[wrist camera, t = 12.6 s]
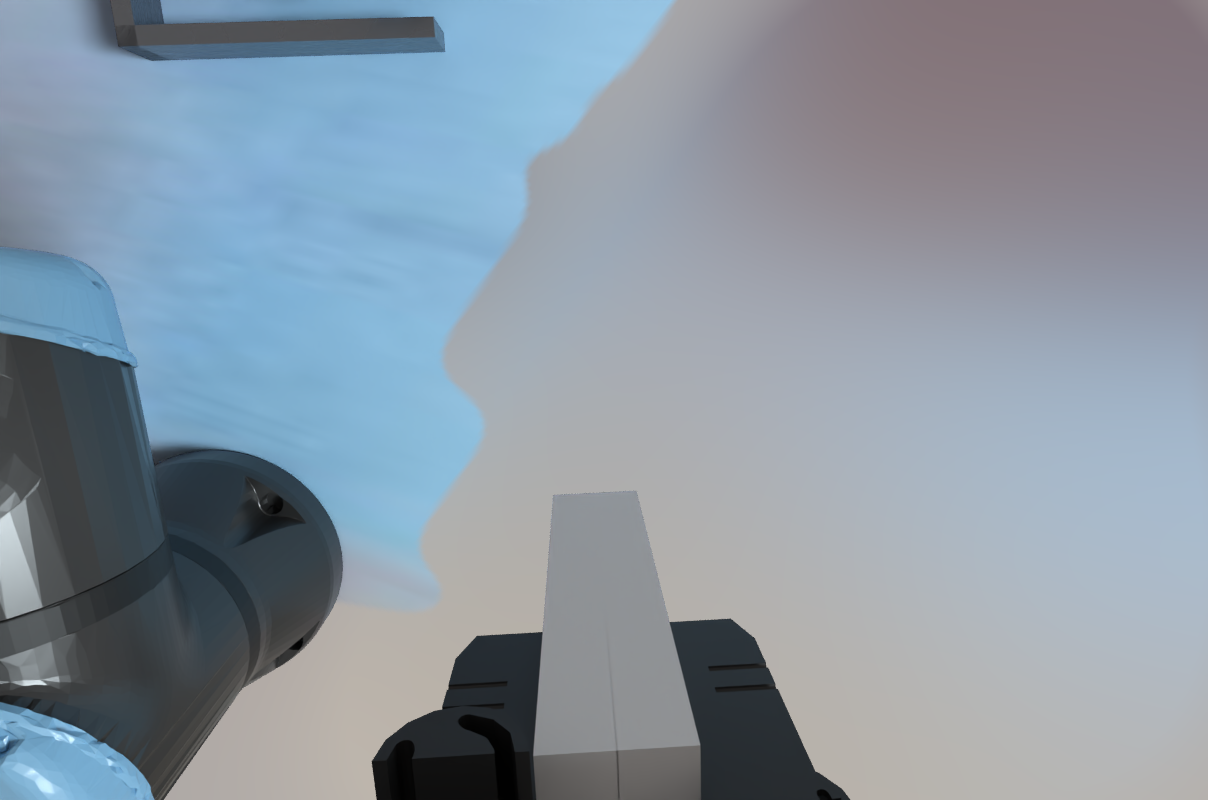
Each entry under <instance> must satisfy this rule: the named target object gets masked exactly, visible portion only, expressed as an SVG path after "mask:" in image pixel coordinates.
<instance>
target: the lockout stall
mask: <svg viewBox="0 0 1208 800" xmlns="http://www.w3.org/2000/svg"><path fill="white" fill-rule="evenodd" d="M110 1H111V7H112V12H113V18H114V24H115V29H116V35H117V41H118V46H119V47H121V48H123V49H126V50H128V51H130V52H133V53H135V54H137V55H140V56H142V57H145V58H147V59H149V60H152V61H154V60H187V59H221V58H254V57H288V56H321V55H355V54H388V53H422V52H445V44H444V33H443V31H442V30H441V28H440V26H439V25H438V23H437V22H436V20H435V18H434V17H404V18H368V19H333V20H297V21H262V22H226V23H191V24H164V21H163V15H162V9H161V3H160V0H110Z"/></svg>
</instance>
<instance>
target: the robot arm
mask: <svg viewBox="0 0 1208 800" xmlns="http://www.w3.org/2000/svg"><path fill="white" fill-rule="evenodd" d="M136 367H138V365H137V360H136V358H135V356H134V355H133V354H132V353H131V352H129V351H128V348H127V344H126V341H125V337H124V334H123V330H122V326H121V323H120V319H119V315H118V312H117V308H116V305H115V301H114V297H113V294H112V292H111V289H110V287H109V285H108V284H107V282H106V281H105V280H104V278H103V277H102V276H101V275H100V274H99V273H98V272H96V271H95V270H94V269H93V268H91V267H89V266H88V265H86V264H85V263H83V262H80V261H78V260H76V259H73V258H70V257H67V256H63V255H59V254H54V253H49V252H42V251H35V250H27V249H20V248H9V247H0V800H164V798H165V797H166V796H167V794H168V793H169V791H170V790H171V788H172V787H173V786H174V784H175V783H176V781H177V780H178V779H179V777H180V776H181V774H182V773H183V771H184V770H185V769H186V767H187V766H188V764H189V763H190V762H191V760H192V759H193V757H194V756H195V755H196V753H197V751H198V750H199V749H200V747H201V746H202V745H203V743H204V742H205V740H206V739H207V738H208V736H209V735H210V733H211V732H212V730H213V729H214V727H215V726H216V725H217V723H218V722H219V720H220V719H221V717H222V716H223V715H224V713H225V712H226V711H227V709H228V708H229V706H230V705H231V704H232V702H233V701H234V699H235V698H236V696H237V694H238V693H239V692H240V691H241V689H242V688H244V687H246V686H247V685H249V684H251V683H252V682H254V681H256V680H257V679H259V678H261V677H262V676H264V675H266V674H267V673H269V672H271V671H273V670H274V669H276V668H278V667H279V666H281V665H283V664H284V663H286V662H287V661H289V660H290V659H292V658H293V657H294V656H296V655H297V654H298V653H299V652H300V651H301V650H302V649H303V648H304V647H305V646H306V645H307V644H308V643H309V642H310V641H311V640H312V639H313V637H314V636H315V635H316V634H317V632H318V630H319V629H320V627H321V626H322V624H323V623H324V621H325V620H326V618H327V617H328V615H329V614H330V612H331V610H332V608H333V606H334V604H335V602H336V600H337V597H338V594H339V590H340V586H341V581H342V571H343V562H342V552H341V546H340V542H339V538H338V535H337V533H336V530H335V527H334V525H333V523H332V521H331V519H330V517H329V515H328V514H327V512H326V510H325V509H324V507H323V506H322V505H321V503H320V502H319V500H318V499H317V498H316V497H315V496H314V495H313V494H312V492H311V491H310V490H309V489H308V488H307V487H305V486H304V485H303V484H302V483H301V482H300V481H299V480H297V479H296V478H295V477H293V476H292V475H290V474H289V473H288V472H286V471H284V470H283V469H281V468H279V467H277V466H275V465H273V464H271V463H269V462H267V461H264V460H262V459H259V458H256V457H253V456H250V455H246V454H242V453H237V452H230V451H218V450H210V451H197V452H191V453H186V454H182V455H178V456H175V457H172V458H170V459H167V460H165V461H163V462H161V463H159V464H157V465H155V466H154V462H153V458H152V453H151V448H150V443H149V439H148V434H147V429H146V424H145V419H144V415H143V410H142V405H141V400H140V395H139V391H138V386H137V381H136V376H135V372H134V368H136ZM372 767H373V775H374V782H375V790H376V797H377V800H850V799H849V798H848V796H847V795H846V794H845V792H844V791H843V790H842V789H841V788H840V787H838V786H837V785H835V784H834V783H833V782H831V781H830V780H828V779H827V778H825V777H824V776H823V775H821V774H820V773H818V772H815V770H814V768H813V765H812V763H811V761H810V759H809V757H808V754H807V752H806V750H805V748H804V746H803V744H802V741H801V739H800V737H799V735H798V732H797V730H796V728H795V726H794V724H793V721H792V719H791V717H790V715H789V713H788V710H787V708H786V706H785V704H784V702H783V699H782V697H781V695H780V693H779V691H778V689H776V687H775V682H774V680H773V678H772V675H771V673H770V671H769V669H768V668H766V662H765V660H764V658H763V656H762V654H761V651H760V649H759V647H758V645H757V642H756V640H755V638H754V637H752V636H751V635H750V634H749V633H747V632H746V631H745V630H744V629H742V628H741V627H740V626H739V625H738V624H736V623H735V622H734V621H733V620H731V619H718V620H700V621H683V622H669V618H668V615H667V611H666V607H665V603H664V599H663V595H662V591H661V587H660V583H659V579H658V575H657V571H656V567H655V563H654V559H653V555H652V551H651V547H650V543H649V539H648V535H647V531H646V527H645V524H644V519H643V516H642V511H641V507H640V503H639V500H638V495H637V492H636V491H623V492H603V493H584V494H564V495H553V504H552V518H551V531H550V544H549V558H548V570H547V583H546V596H545V609H544V622H543V632H538V633H522V634H504V635H487V636H477V637H476V638H475V639H474V640H473V641H472V642H471V643H470V644H469V645H468V646H467V647H466V648H465V649H464V651H463V652H462V653H461V654H460V655H459V656H458V657H457V658H456V660H455V664H454V667H453V670H452V674H451V678H450V681H449V689H448V690H447V692H446V696H445V699H444V703H443V706H442V710H437V711H433V712H431V713H429V714H427V715H424V716H422V717H420V718H417V719H415V720H413V721H411V722H408V723H407V724H406V725H404V726H403V727H402V728H400V729H399V730H398V731H397V732H396V733H394V734H393V735H392V736H390V737H389V738H388V739H386V740H385V742H384V743H383V745H382V746H381V748H380V750H379V751H378V753H377V754H376V756H375V757H374V759H373V760H372Z"/></svg>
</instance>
